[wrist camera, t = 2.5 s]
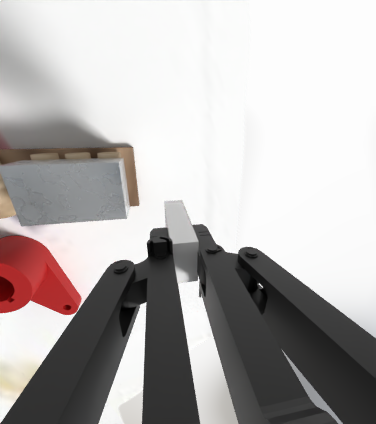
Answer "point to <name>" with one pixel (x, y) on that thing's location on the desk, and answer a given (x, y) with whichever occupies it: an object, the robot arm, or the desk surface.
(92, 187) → the slab
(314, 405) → the robot arm
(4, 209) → the roller
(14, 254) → the lever
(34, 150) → the board
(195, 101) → the desk surface
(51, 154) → the roller
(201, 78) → the desk surface
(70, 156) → the cylinder
